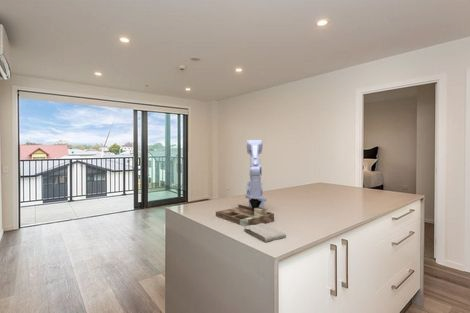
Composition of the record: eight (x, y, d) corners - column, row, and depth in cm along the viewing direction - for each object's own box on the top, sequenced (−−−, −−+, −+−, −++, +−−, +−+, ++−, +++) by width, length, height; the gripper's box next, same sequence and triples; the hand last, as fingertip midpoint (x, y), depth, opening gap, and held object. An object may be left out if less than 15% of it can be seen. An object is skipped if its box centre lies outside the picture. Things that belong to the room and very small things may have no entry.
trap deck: (239, 210, 153) (239, 204, 152) (274, 221, 131) (274, 213, 131) (215, 216, 141) (215, 209, 141) (249, 228, 120) (249, 219, 119)
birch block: (260, 214, 136) (260, 206, 136) (267, 215, 132) (267, 208, 132) (254, 215, 133) (254, 208, 132) (260, 217, 129) (260, 210, 129)
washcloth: (262, 227, 122) (262, 221, 122) (287, 238, 107) (287, 231, 107) (241, 231, 116) (241, 225, 116) (265, 244, 101) (265, 236, 101)
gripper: (241, 187, 138) (241, 211, 138) (259, 190, 127) (259, 216, 127) (250, 186, 143) (250, 209, 143) (269, 189, 131) (269, 214, 132)
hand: (255, 212), depth 135 cm, fingers closed
